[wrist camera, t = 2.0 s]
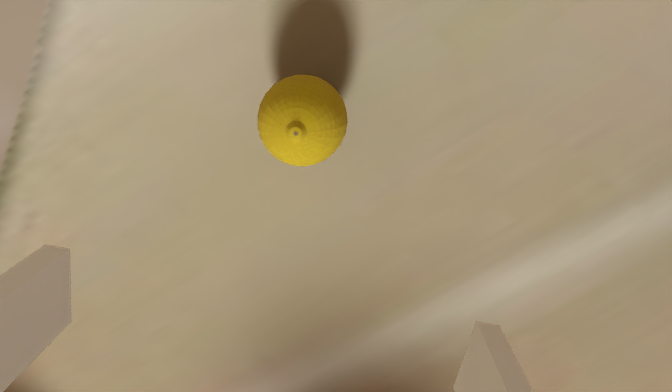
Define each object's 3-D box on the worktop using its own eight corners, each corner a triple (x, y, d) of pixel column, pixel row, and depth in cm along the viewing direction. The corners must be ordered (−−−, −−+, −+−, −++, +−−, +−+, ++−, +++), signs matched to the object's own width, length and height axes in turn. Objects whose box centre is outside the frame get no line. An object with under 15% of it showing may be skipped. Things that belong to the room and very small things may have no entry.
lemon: (294, 161, 33) (276, 197, 25) (256, 93, 31) (225, 111, 24) (361, 127, 32) (363, 155, 24) (325, 55, 30) (315, 61, 23)
